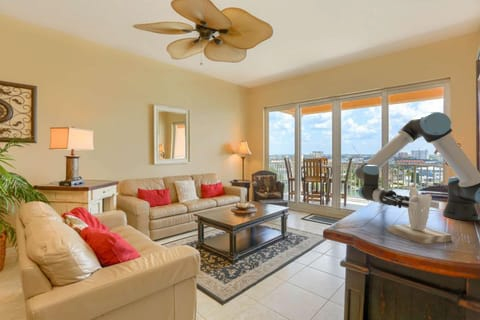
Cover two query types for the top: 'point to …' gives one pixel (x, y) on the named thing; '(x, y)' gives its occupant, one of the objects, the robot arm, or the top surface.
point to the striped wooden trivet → (420, 234)
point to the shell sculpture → (419, 209)
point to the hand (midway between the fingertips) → (427, 206)
